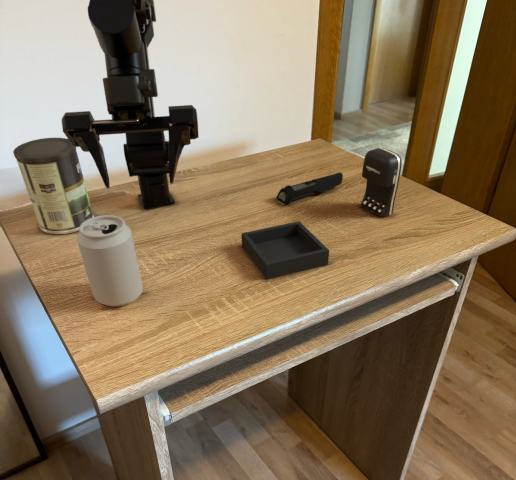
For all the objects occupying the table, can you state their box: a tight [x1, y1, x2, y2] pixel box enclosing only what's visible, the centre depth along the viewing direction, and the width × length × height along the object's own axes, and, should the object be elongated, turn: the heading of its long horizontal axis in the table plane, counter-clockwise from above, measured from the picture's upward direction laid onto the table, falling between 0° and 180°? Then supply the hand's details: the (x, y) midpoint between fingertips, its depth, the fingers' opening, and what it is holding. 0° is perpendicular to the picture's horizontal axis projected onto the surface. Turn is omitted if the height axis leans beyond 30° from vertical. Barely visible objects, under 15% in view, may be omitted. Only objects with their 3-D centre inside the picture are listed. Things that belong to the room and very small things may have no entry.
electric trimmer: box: [276, 172, 344, 206], centre depth 100 cm, size 4×16×3 cm, turn 122°
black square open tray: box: [240, 220, 330, 280], centre depth 82 cm, size 11×11×3 cm
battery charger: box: [360, 147, 403, 217], centre depth 91 cm, size 7×4×11 cm, turn 32°
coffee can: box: [12, 137, 95, 235], centre depth 89 cm, size 10×10×14 cm
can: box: [76, 214, 144, 308], centre depth 71 cm, size 8×8×12 cm
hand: (139, 185), depth 71 cm, fingers open, 9 cm apart
